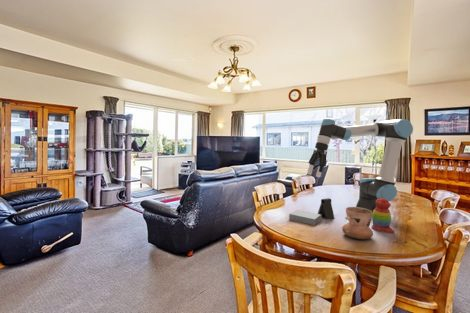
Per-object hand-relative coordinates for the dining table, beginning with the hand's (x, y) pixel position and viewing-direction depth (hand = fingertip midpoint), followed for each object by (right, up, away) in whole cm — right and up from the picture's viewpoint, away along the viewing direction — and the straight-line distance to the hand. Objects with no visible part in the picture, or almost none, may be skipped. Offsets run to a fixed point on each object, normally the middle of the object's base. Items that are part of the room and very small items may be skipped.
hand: (313, 175), depth 161 cm
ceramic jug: (+15, -30, -28) cm, 43 cm away
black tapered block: (+9, -27, +4) cm, 29 cm away
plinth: (-6, -27, -2) cm, 28 cm away
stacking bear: (+33, -29, -17) cm, 47 cm away
